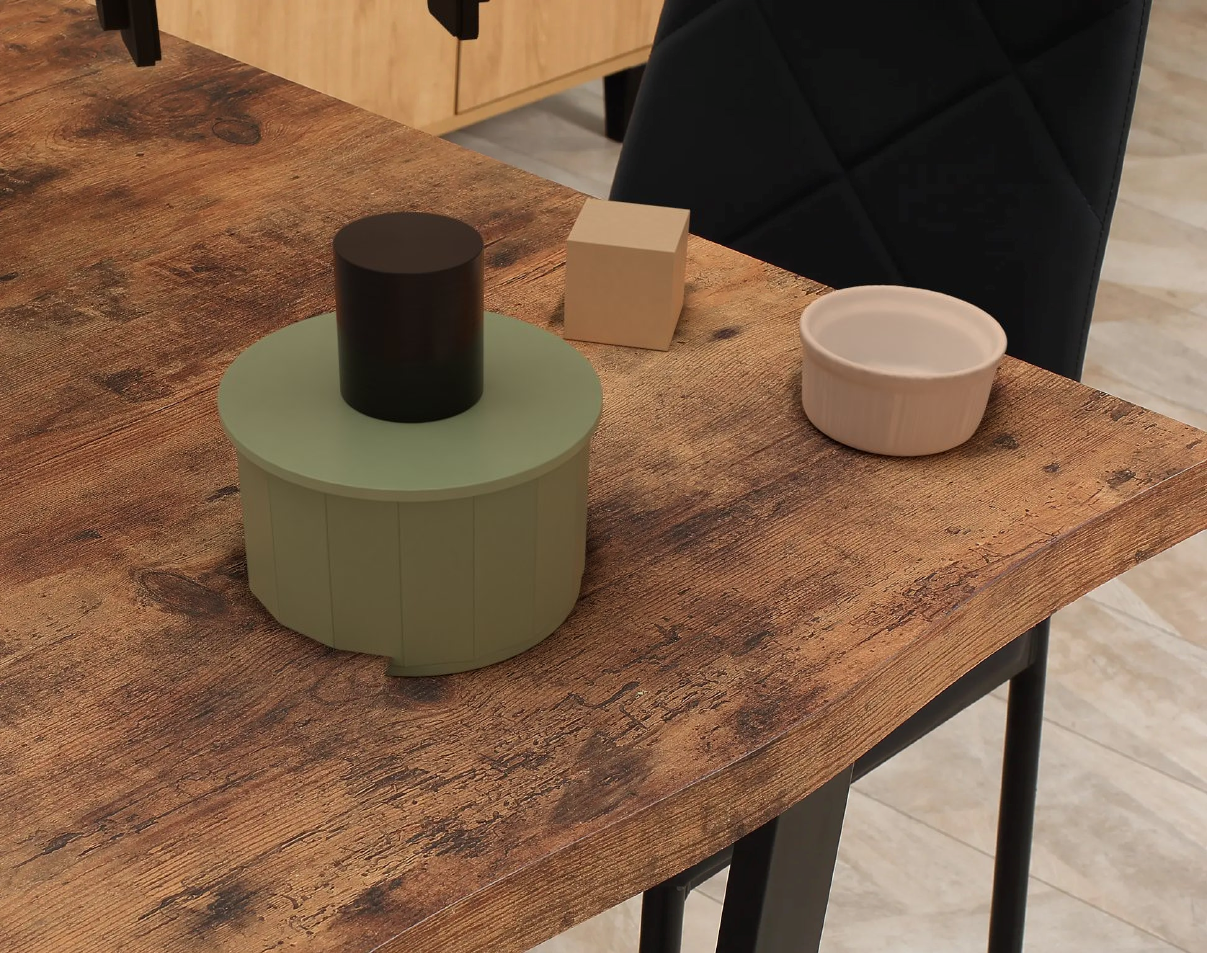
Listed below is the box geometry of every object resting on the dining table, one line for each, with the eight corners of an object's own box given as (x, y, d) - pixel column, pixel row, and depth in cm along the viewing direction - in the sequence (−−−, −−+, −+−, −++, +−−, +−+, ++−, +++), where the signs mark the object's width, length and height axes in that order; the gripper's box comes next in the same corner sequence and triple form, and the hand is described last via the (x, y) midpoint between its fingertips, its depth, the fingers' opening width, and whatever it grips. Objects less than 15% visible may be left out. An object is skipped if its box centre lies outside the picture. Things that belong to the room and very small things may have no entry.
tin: (199, 649, 61) (178, 466, 57) (310, 471, 71) (299, 304, 66) (543, 700, 59) (548, 516, 55) (607, 510, 69) (616, 343, 65)
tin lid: (159, 488, 57) (136, 304, 53) (292, 311, 67) (280, 147, 63) (560, 543, 55) (566, 357, 51) (630, 352, 66) (640, 187, 62)
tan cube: (563, 338, 81) (566, 239, 79) (583, 293, 85) (586, 198, 83) (667, 351, 81) (675, 252, 78) (683, 305, 85) (690, 209, 82)
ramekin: (753, 423, 76) (762, 334, 73) (846, 350, 82) (858, 265, 79) (938, 489, 72) (955, 397, 69) (1021, 407, 78) (1039, 320, 75)
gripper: (537, -641, 48) (526, -15, 58) (-122, -677, 43) (-9, 23, 53) (642, -635, 43) (610, 56, 53) (-100, -675, 37) (22, 108, 47)
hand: (301, 39), depth 53 cm, fingers open, 9 cm apart
